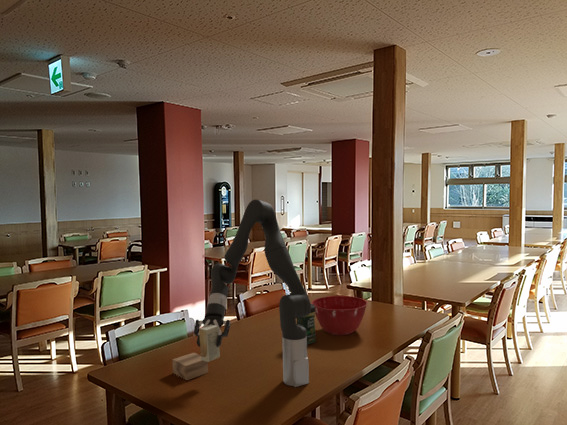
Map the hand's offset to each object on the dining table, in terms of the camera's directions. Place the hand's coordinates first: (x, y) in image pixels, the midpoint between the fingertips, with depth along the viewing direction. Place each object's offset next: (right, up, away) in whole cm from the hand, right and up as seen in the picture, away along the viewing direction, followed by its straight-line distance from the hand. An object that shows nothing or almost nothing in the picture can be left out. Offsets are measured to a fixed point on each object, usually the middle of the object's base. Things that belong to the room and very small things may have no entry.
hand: (208, 345), depth 159 cm
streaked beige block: (-9, -15, +11) cm, 21 cm away
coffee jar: (+39, -13, +44) cm, 60 cm away
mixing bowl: (+57, -12, +60) cm, 84 cm away
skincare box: (0, -6, +2) cm, 6 cm away
